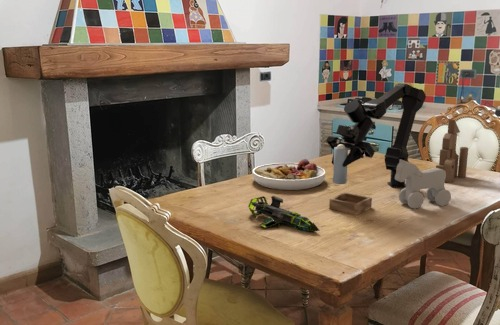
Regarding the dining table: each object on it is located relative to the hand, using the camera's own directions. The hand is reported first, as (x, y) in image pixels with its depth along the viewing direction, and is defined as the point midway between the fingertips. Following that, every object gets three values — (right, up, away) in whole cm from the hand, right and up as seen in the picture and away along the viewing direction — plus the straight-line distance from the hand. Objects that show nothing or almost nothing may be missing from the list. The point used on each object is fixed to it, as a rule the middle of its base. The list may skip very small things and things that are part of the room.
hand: (337, 165), depth 179 cm
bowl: (-15, -8, +31) cm, 35 cm away
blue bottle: (+1, -6, +2) cm, 7 cm away
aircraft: (-20, -19, -18) cm, 33 cm away
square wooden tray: (+4, -15, -4) cm, 16 cm away
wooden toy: (+54, -6, +35) cm, 65 cm away
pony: (+29, -14, -1) cm, 32 cm away
